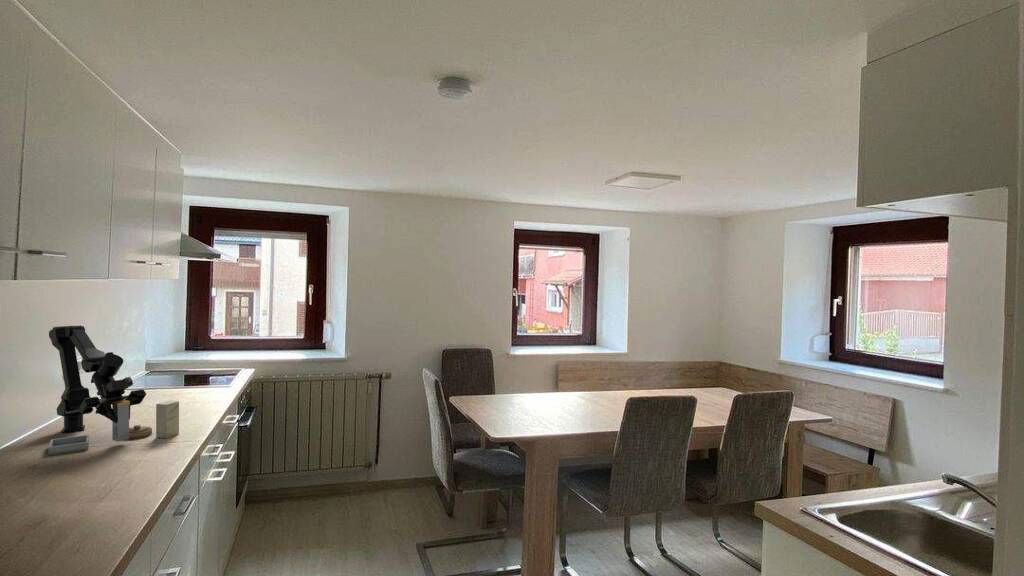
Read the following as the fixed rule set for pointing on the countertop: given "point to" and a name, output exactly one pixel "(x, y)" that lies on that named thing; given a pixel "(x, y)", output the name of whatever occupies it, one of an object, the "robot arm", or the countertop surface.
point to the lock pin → (121, 420)
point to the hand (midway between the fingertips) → (122, 420)
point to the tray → (68, 444)
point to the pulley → (139, 431)
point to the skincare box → (167, 419)
